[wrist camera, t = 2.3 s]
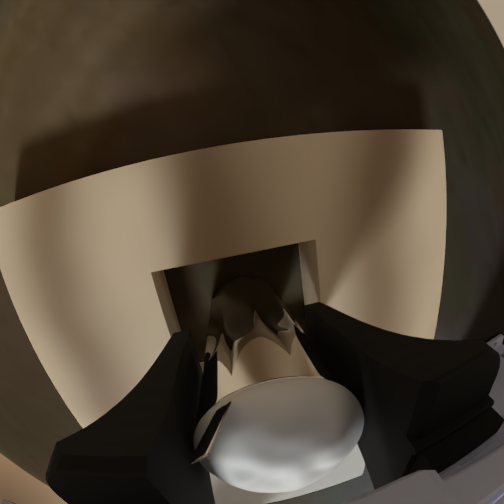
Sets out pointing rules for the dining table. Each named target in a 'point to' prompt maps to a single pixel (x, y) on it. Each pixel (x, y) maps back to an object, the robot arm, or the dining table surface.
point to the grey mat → (239, 500)
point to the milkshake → (269, 397)
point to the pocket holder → (222, 245)
